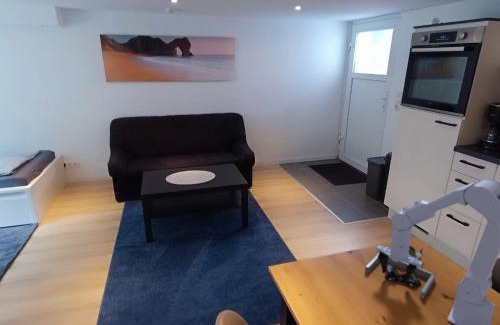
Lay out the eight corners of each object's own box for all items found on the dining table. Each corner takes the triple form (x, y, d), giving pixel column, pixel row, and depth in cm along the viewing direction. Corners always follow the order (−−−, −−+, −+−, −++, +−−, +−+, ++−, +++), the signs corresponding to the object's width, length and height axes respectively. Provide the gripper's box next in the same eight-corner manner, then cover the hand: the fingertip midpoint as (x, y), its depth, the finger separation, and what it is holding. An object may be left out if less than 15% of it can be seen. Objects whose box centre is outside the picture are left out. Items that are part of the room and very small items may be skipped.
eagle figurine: (419, 251, 124) (396, 243, 127) (425, 244, 119) (401, 236, 122) (417, 268, 120) (393, 260, 123) (423, 262, 115) (398, 253, 118)
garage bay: (434, 279, 109) (435, 274, 109) (423, 298, 101) (424, 292, 100) (379, 257, 123) (379, 251, 122) (364, 272, 114) (365, 266, 113)
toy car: (385, 270, 115) (386, 261, 114) (421, 280, 110) (423, 270, 109) (383, 280, 110) (385, 270, 109) (421, 290, 105) (423, 280, 103)
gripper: (374, 240, 106) (370, 272, 110) (419, 256, 96) (413, 292, 100) (382, 232, 111) (378, 264, 115) (426, 247, 101) (420, 281, 105)
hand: (395, 276), depth 108 cm, fingers open, 7 cm apart
